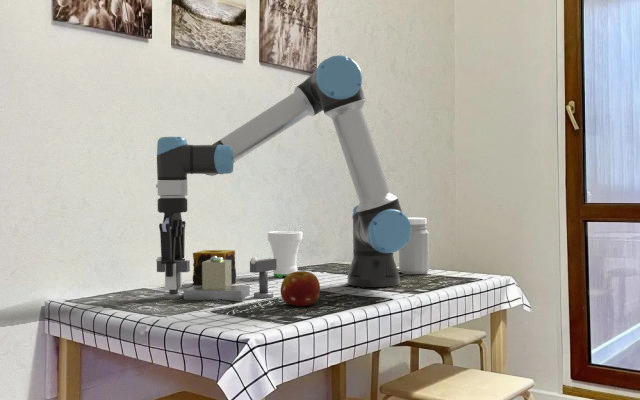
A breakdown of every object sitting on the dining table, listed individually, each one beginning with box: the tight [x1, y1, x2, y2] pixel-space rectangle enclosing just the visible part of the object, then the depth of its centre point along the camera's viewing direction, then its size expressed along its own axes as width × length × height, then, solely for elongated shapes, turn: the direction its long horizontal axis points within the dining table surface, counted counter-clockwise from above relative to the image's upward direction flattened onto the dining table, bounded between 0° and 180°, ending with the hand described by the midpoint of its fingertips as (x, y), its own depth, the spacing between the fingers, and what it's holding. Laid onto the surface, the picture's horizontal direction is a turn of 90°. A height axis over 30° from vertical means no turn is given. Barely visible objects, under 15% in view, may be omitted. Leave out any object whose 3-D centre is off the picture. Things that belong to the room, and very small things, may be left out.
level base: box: [183, 256, 251, 301], centre depth 175 cm, size 15×9×11 cm, turn 83°
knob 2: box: [249, 256, 276, 299], centre depth 174 cm, size 8×5×10 cm, turn 145°
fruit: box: [280, 270, 321, 307], centre depth 162 cm, size 10×9×8 cm
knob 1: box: [155, 256, 191, 300], centre depth 174 cm, size 8×5×10 cm, turn 83°
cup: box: [267, 230, 304, 279], centre depth 215 cm, size 11×11×14 cm
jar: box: [398, 217, 430, 275], centre depth 222 cm, size 10×10×18 cm
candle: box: [192, 249, 237, 286], centre depth 197 cm, size 10×10×10 cm
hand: (173, 287), depth 174 cm, fingers open, 3 cm apart
